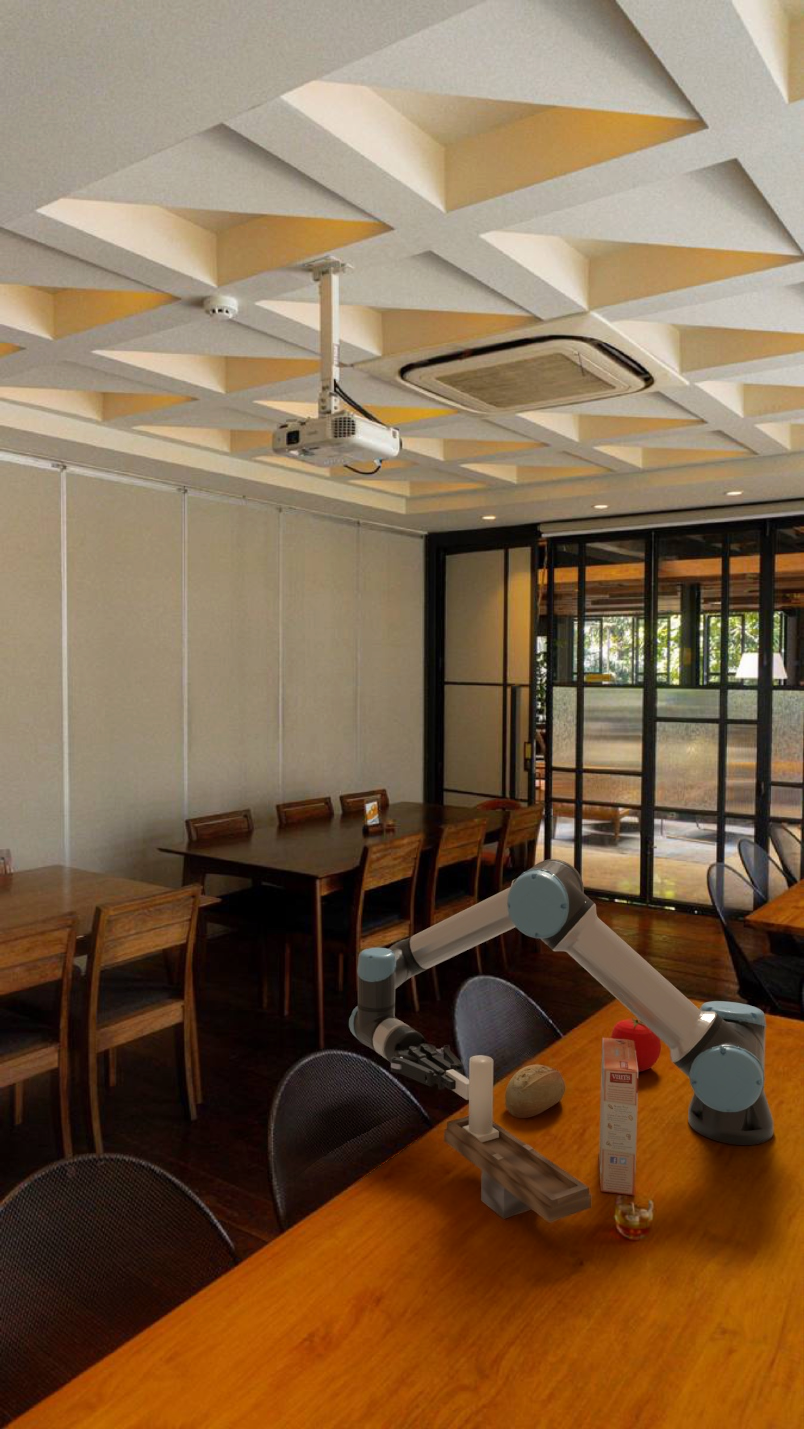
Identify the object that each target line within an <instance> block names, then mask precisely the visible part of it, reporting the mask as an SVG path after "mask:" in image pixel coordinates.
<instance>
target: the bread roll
mask: <svg viewBox="0 0 804 1429" xmlns="http://www.w3.org/2000/svg"><path fill="white" fill-rule="evenodd" d="M565 1091H566V1082H565V1080H564V1078H563V1075H562V1074H561V1072H560V1071H559V1070H558V1069H556V1068H552V1067H551V1066H547V1065H542V1064H537V1063H536V1064H530V1065H526V1066H524V1067H522V1068H520V1069H519V1070H518V1071H516V1073H514V1074H513V1076H512V1077H511V1079H510V1080H509V1081H508V1084H507V1086H506V1090H505V1095H504V1096H505V1097H504V1099H505V1100H504V1101H505V1102H504V1105H505V1109H507V1111H508V1113H509V1114H510V1115H511V1116H513V1117H515V1118H518V1119H525V1118H532V1117H535V1116H537V1115H539V1114H541V1113H543V1112H544V1111H546V1110H548V1109H549V1108H550V1109H551V1107H553V1106H555V1105H556V1104H558V1103H559V1102H560V1101H561V1100H562V1099H563V1097H564V1095H565Z"/></svg>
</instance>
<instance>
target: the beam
mask: <svg viewBox="0 0 804 1429" xmlns="http://www.w3.org/2000/svg"><path fill="white" fill-rule="evenodd" d="M467 1125H469V1115H467V1116H463V1117H459V1118H457V1119H453V1120H449V1121H446V1128H444V1129H443V1130H444V1131H443V1132H444V1133H443V1136H444V1138H443V1140H444V1141H443V1142H445V1144H447V1145H448V1146H450V1147H451V1148H452V1149H454V1150H455V1151H456V1152H458V1153H459V1154H460V1155H461V1156H463V1157H464V1158H465V1159H467V1160H468V1161H469V1162H471V1163H472V1164H473V1165H474V1166H475V1167H477V1168H478V1169H480V1170H481V1177H480V1178H481V1181H480V1183H481V1185H480V1186H481V1188H480V1189H481V1190H480V1191H481V1192H480V1196H481V1198H480V1200H481V1202H482V1203H483V1204H485V1205H486V1206H487V1207H489V1208H490V1209H491V1210H492V1211H493V1212H495V1214H497V1215H498V1216H500V1217H501V1218H502V1219H503V1220H505V1219H509V1218H510V1217H513V1216H515V1215H519V1214H521V1213H525V1212H527V1211H530V1210H532V1211H533V1212H535V1213H536V1214H537V1215H538V1216H540V1217H541V1218H543V1220H545V1221H546V1222H547V1223H549V1224H550V1223H552V1222H556V1221H558V1220H561V1219H564V1218H567V1217H569V1216H572V1215H575V1214H578V1213H580V1212H583V1211H586V1210H588V1209H591V1208H592V1194H591V1193H590V1187H589V1186H588V1185H586V1184H585V1183H583V1182H582V1181H580V1180H579V1179H577V1178H576V1177H574V1176H573V1175H571V1174H570V1173H569V1172H567V1171H566V1170H565V1169H563V1168H561V1167H560V1166H558V1165H557V1164H555V1163H554V1162H553V1161H551V1160H550V1159H548V1158H547V1157H545V1156H544V1155H542V1153H539V1152H538V1151H537V1150H535V1149H534V1148H533V1147H532V1146H531V1145H529V1144H528V1143H525V1142H524V1141H522V1140H521V1139H519V1138H518V1137H516V1136H515V1135H514V1134H512V1132H510V1131H508V1130H506V1129H505V1128H503V1127H502V1126H501V1125H499V1124H498V1123H496V1122H495V1121H493V1128H495V1129H496V1130H498V1131H499V1138H495V1139H492V1140H488V1141H485V1142H480V1141H479V1140H477V1139H476V1138H475V1137H473V1136H472V1135H471V1134H469V1133H468V1132H467V1131H465V1130H464V1129H463V1128H462V1127H464V1126H467Z"/></svg>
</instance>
